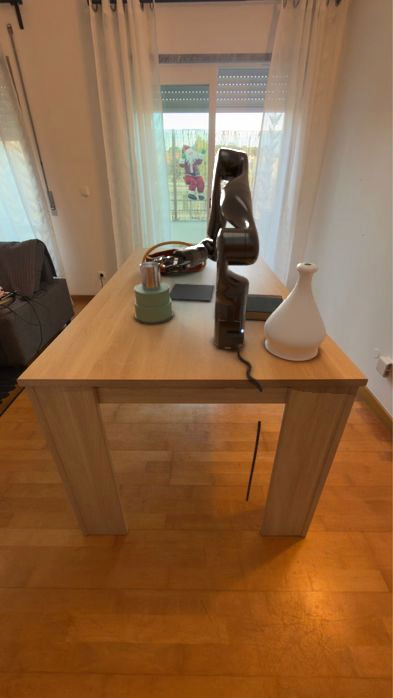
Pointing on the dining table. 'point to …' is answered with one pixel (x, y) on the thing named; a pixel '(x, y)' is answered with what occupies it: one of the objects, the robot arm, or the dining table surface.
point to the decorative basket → (169, 253)
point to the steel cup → (150, 276)
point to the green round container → (153, 305)
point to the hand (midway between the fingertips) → (156, 268)
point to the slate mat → (191, 292)
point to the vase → (296, 321)
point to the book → (262, 306)
